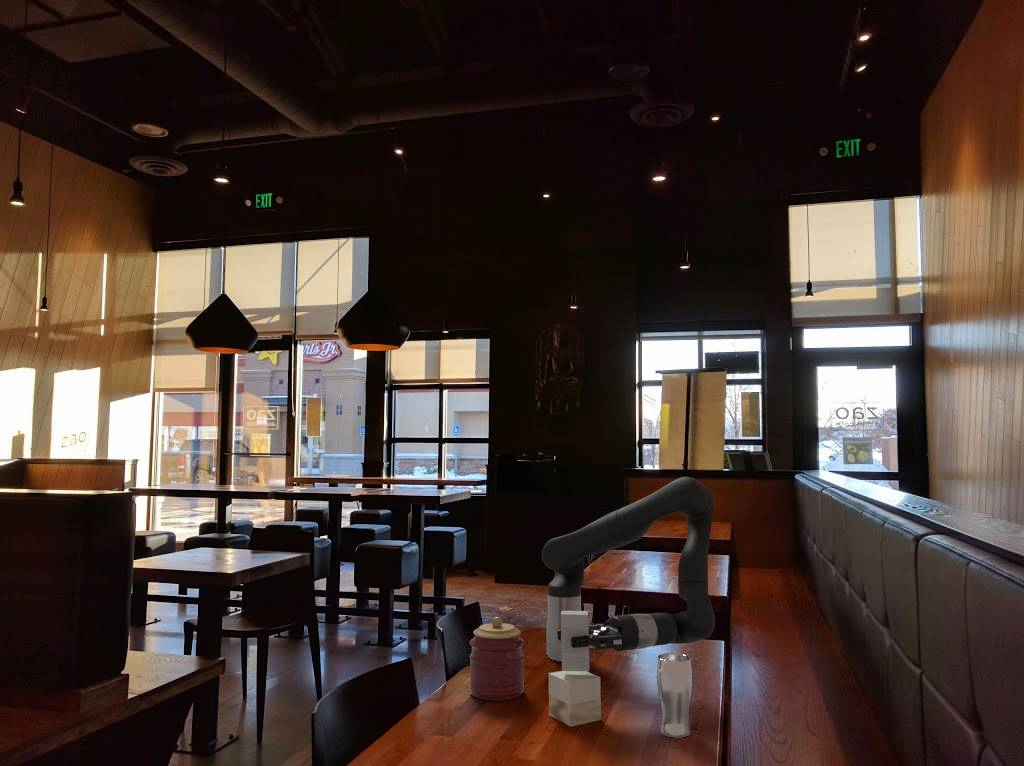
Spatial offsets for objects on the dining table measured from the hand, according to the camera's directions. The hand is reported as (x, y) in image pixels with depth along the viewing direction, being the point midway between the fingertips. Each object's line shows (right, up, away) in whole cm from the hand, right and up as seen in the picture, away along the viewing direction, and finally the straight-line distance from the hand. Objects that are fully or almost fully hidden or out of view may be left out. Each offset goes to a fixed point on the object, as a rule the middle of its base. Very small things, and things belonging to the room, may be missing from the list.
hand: (565, 638), depth 163 cm
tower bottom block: (+2, -17, -1) cm, 17 cm away
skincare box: (+2, -7, 0) cm, 7 cm away
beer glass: (+22, -16, -10) cm, 29 cm away
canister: (-15, -18, +16) cm, 28 cm away
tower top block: (+2, -12, 0) cm, 13 cm away
